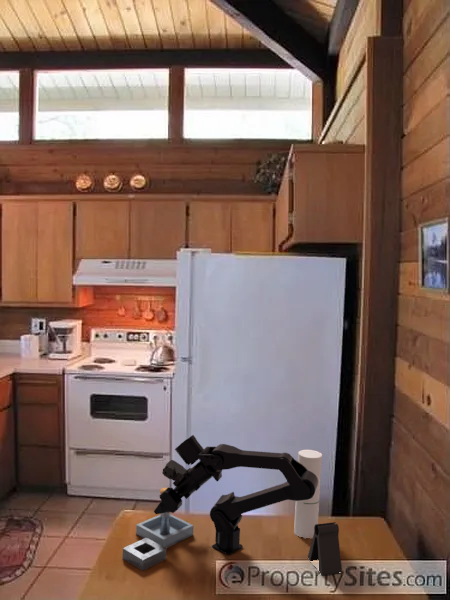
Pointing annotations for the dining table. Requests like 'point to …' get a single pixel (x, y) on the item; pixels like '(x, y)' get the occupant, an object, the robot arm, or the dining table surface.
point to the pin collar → (141, 560)
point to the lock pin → (164, 520)
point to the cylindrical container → (310, 508)
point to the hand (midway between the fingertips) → (161, 506)
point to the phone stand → (326, 548)
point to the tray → (177, 534)
